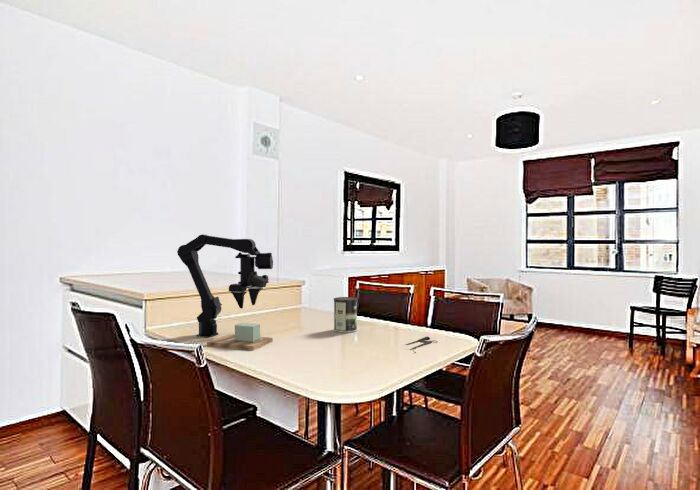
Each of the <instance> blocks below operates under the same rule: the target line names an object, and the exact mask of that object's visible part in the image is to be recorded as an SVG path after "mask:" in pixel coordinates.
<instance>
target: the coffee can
mask: <svg viewBox="0 0 700 490" xmlns="http://www.w3.org/2000/svg"><path fill="white" fill-rule="evenodd" d="M357 303H358V298H357V297H354V296H353V297H351V296H339V297H333V331H334V332H336V333H345V334H346V333H354V332H357V331H358V328H357V327H358V322H357V321H358V319H357V316H358V315H357V314H358V310H357V307H358V304H357Z"/></svg>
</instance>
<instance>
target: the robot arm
mask: <svg viewBox="0 0 700 490" xmlns="http://www.w3.org/2000/svg"><path fill="white" fill-rule="evenodd" d="M206 245H208V246H215V247H216V246H217V247H221V248H230V249H232V250H235V251H236V252H237V251H238V254H237V255H235V257H234V258H235V259H240V261H239V263H240V265H239V266H240V267H239V268H240V269H239V270H240V271H237V273H238V275H240V276H239V277H240V280H239V281H238V282H237V283H231V284H229V285H228V292H230V294H232V296H233V298H234V299H235V301H236V303H237V305H238V307H239V309H243V308H244V302H245V296H246V294H247V293H248V294H249V298H250V302H251V305H252V306H255V305H256V303H257V299H258V295H259V292H260V293H261V291H262V290H263V289H264V288H266V286H267V284H269V280H270V279H269V275H266V274H262V276H261V275H258V272H257V271H255V267H256V268H257V269H258V270H272V269H273V268H274V260H273V253H272V252H265V253H264V252H261V251H259V249H258V248H257V247H256V241H254V239H251V238H237V239H235V238H227V237H220V236H213V235H207V234H200V235H198V236H197V237H195V238H194V239H192V240H190V241H189V242H187V243H186V244H182V245H180V246H179V247H178V248H177V250H176V252H177V256H178V257H179V259H180V260H181V262H182V263H183V264H184V265H185V266H186V267H187V268H188V272H189V273H190V276H191V278H192V280H193V283H194V285H195V289H196V290H197V293H198V295H199V297H200V307H201V312H200V313H199V315H198V316H196V320H197V322H198V333H197V334H196V337H204V338H205V337H206V338H210V337H214V336H216V335H219V332H217V331H218V324H217V320H216V319H217V317H218V316H219V314H221V312H222V305H223V304H222V303H221V302H220V297H219V296H216V297H215V296H214V295H213V294H212V292H211V289H210V287H209V285H208V282H207V281H206V277H205V276H204V275H205V274H204V273H203V270H202V268H201V266H200V262H199V254H198V252H199V251H200V250H202V249H203V248H204V247H205V246H206ZM247 290H248V292H247Z"/></svg>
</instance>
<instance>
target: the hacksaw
mask: <svg viewBox="0 0 700 490" xmlns="http://www.w3.org/2000/svg"><path fill="white" fill-rule="evenodd" d="M430 339H431V338H430V337H429V336H425V337H422V338H420V339H417V340H415V341H412V342H408V343H405V344H404V346H409V345H413V344H417V343H420V342H421V344H418V345H416V346H414V347H411V348H409V349H407V348H406V350H407V351H408V350H409V351H413V352H414V353H412V354H417V352H416V351H414V350H416V349H418V348H420V347H423V346H427V345H428V344H429V345H430V344H432V342H433V340H430ZM434 343H437V341H434Z"/></svg>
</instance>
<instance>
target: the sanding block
mask: <svg viewBox="0 0 700 490" xmlns="http://www.w3.org/2000/svg"><path fill="white" fill-rule="evenodd" d="M234 335H235V341H240V342H250V343H254V342H256V341H258V340H260V337H261V324H260V323H253V322H252V323H249V322H240V323H237V324H234Z"/></svg>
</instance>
